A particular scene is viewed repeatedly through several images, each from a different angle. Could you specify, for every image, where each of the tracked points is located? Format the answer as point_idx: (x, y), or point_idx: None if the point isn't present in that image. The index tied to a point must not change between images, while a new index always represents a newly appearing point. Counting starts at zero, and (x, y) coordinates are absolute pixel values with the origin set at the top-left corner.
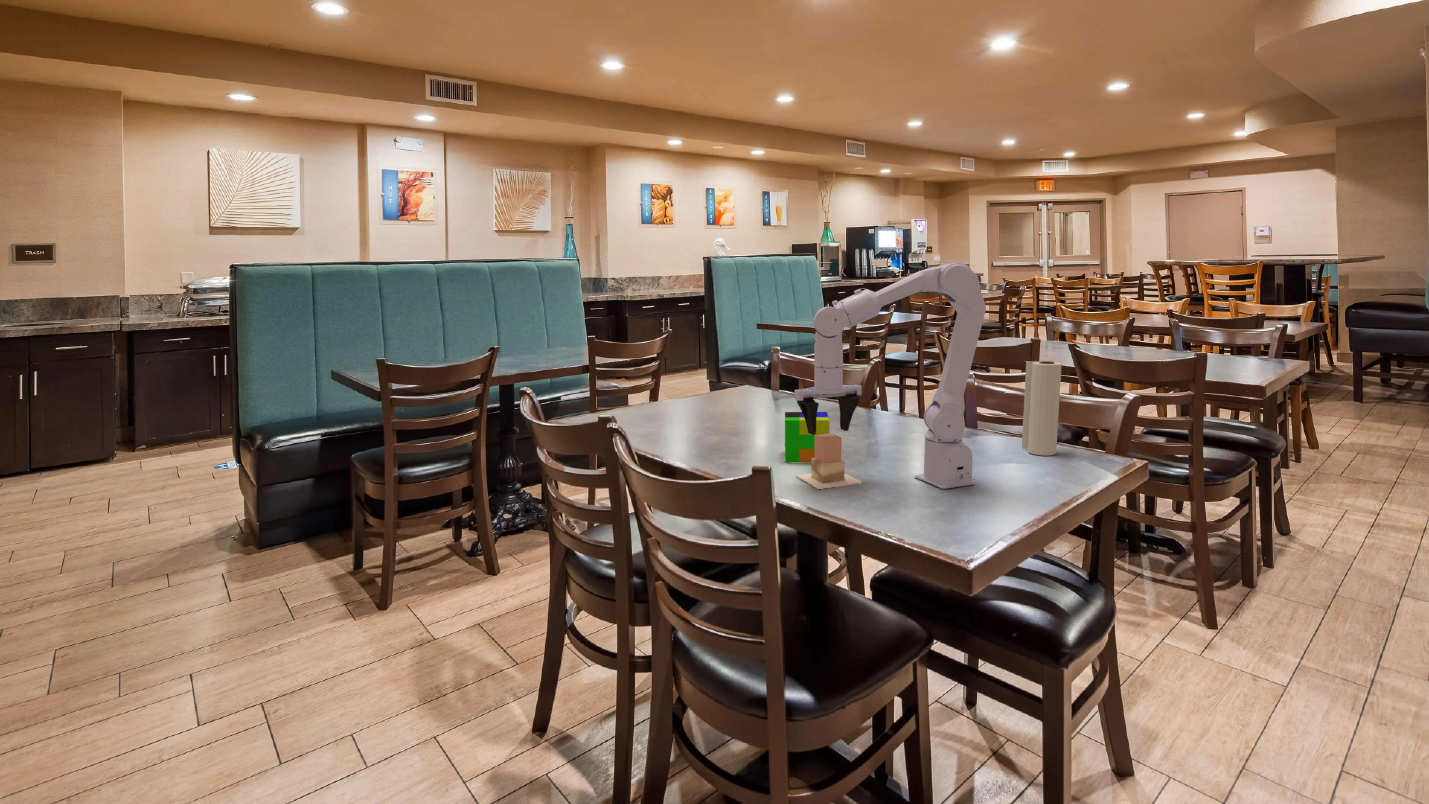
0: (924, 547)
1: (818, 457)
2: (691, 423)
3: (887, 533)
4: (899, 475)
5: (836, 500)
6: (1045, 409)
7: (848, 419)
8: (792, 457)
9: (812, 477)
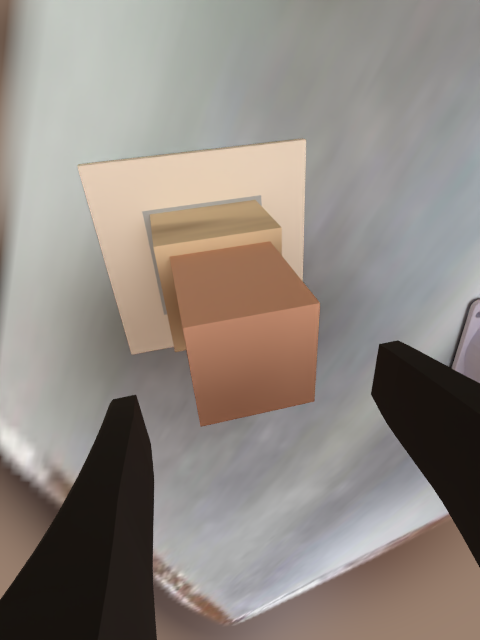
0: (206, 602)
1: (177, 300)
2: None
3: (178, 573)
4: (460, 261)
5: (153, 436)
6: None
7: (425, 467)
8: None
9: (150, 226)
